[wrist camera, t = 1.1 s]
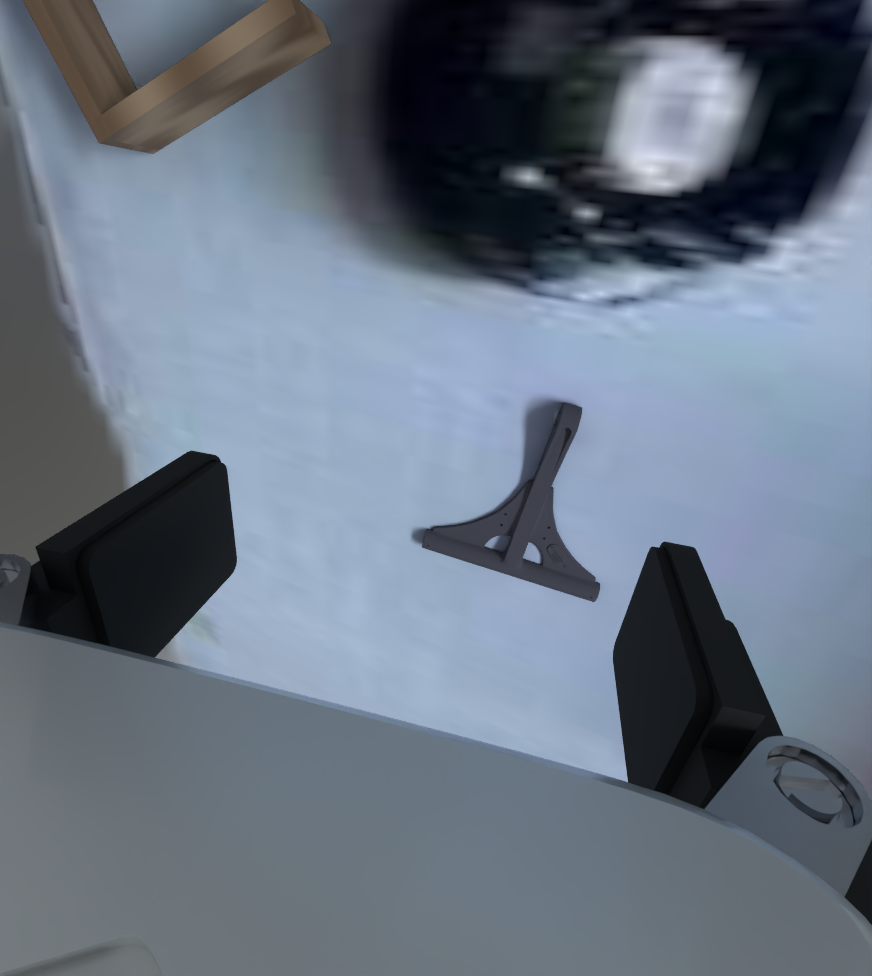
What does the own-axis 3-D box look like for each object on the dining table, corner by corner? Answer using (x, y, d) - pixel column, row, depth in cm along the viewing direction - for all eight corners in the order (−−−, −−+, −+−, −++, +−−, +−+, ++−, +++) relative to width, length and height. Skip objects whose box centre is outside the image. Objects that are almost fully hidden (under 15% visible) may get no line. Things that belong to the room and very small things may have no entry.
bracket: (674, 430, 35) (683, 445, 32) (591, 593, 42) (594, 615, 39) (472, 370, 36) (466, 380, 33) (425, 539, 43) (417, 558, 40)
